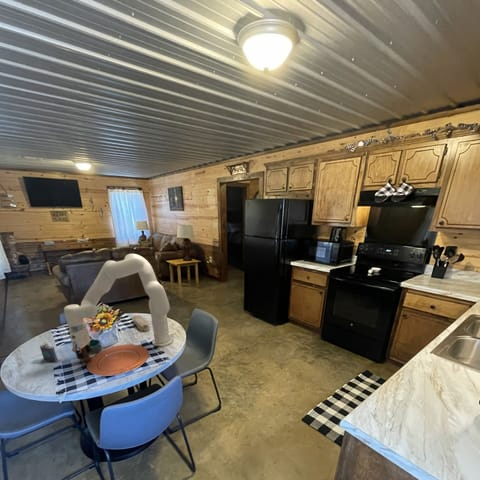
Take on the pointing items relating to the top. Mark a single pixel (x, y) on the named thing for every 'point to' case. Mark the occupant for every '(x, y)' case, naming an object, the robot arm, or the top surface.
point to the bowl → (94, 346)
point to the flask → (48, 353)
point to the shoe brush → (141, 323)
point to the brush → (85, 356)
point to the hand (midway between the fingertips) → (84, 355)
